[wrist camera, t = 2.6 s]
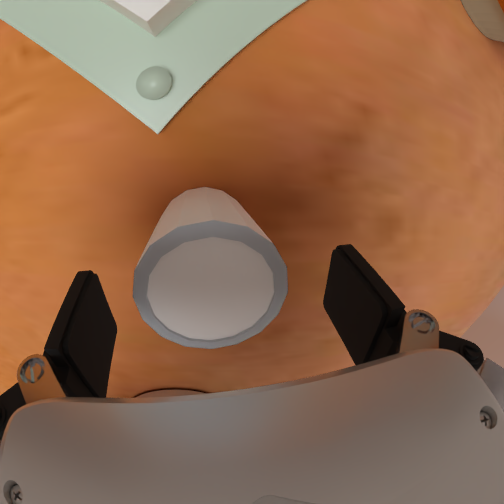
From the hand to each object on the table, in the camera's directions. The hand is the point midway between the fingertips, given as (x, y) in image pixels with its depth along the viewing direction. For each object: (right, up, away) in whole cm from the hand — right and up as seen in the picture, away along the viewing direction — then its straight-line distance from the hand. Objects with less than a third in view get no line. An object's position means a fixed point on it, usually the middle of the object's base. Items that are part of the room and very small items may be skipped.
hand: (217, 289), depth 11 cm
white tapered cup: (-2, +3, +7) cm, 8 cm away
